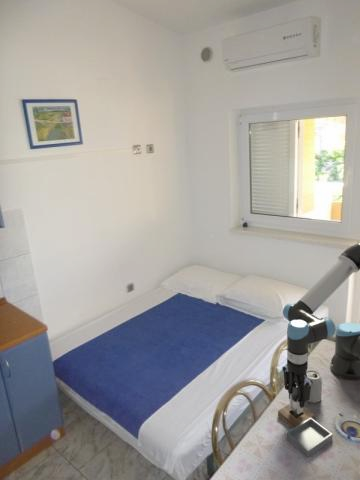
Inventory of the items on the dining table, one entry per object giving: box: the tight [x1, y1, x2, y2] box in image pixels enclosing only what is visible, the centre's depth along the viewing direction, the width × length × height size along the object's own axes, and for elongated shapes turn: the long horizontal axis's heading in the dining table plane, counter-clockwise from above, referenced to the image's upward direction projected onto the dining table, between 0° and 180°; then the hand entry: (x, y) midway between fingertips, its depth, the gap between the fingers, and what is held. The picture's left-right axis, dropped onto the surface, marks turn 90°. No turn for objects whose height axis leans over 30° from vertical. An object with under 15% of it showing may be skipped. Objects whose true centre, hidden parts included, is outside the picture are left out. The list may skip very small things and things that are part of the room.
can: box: [304, 369, 323, 404], centre depth 158 cm, size 8×8×12 cm
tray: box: [285, 417, 334, 458], centre depth 139 cm, size 13×10×3 cm
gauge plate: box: [277, 403, 316, 429], centre depth 150 cm, size 10×10×2 cm
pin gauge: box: [292, 384, 300, 418], centre depth 148 cm, size 3×3×14 cm
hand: (296, 409), depth 149 cm, fingers closed on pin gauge, 3 cm apart
